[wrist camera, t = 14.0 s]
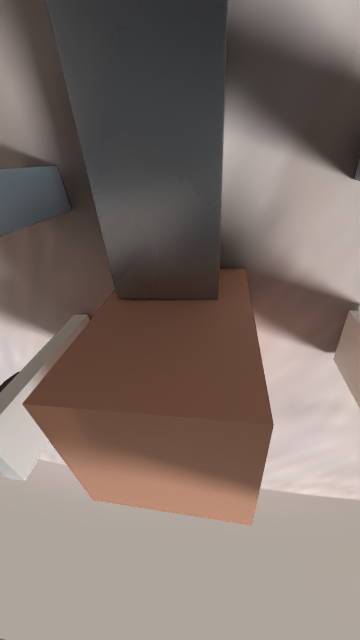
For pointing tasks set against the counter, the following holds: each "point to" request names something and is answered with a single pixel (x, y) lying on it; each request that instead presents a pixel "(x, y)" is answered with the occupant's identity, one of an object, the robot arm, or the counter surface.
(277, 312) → the counter surface
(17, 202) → the blue toy stool
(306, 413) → the counter surface
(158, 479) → the block
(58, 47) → the steel bar
